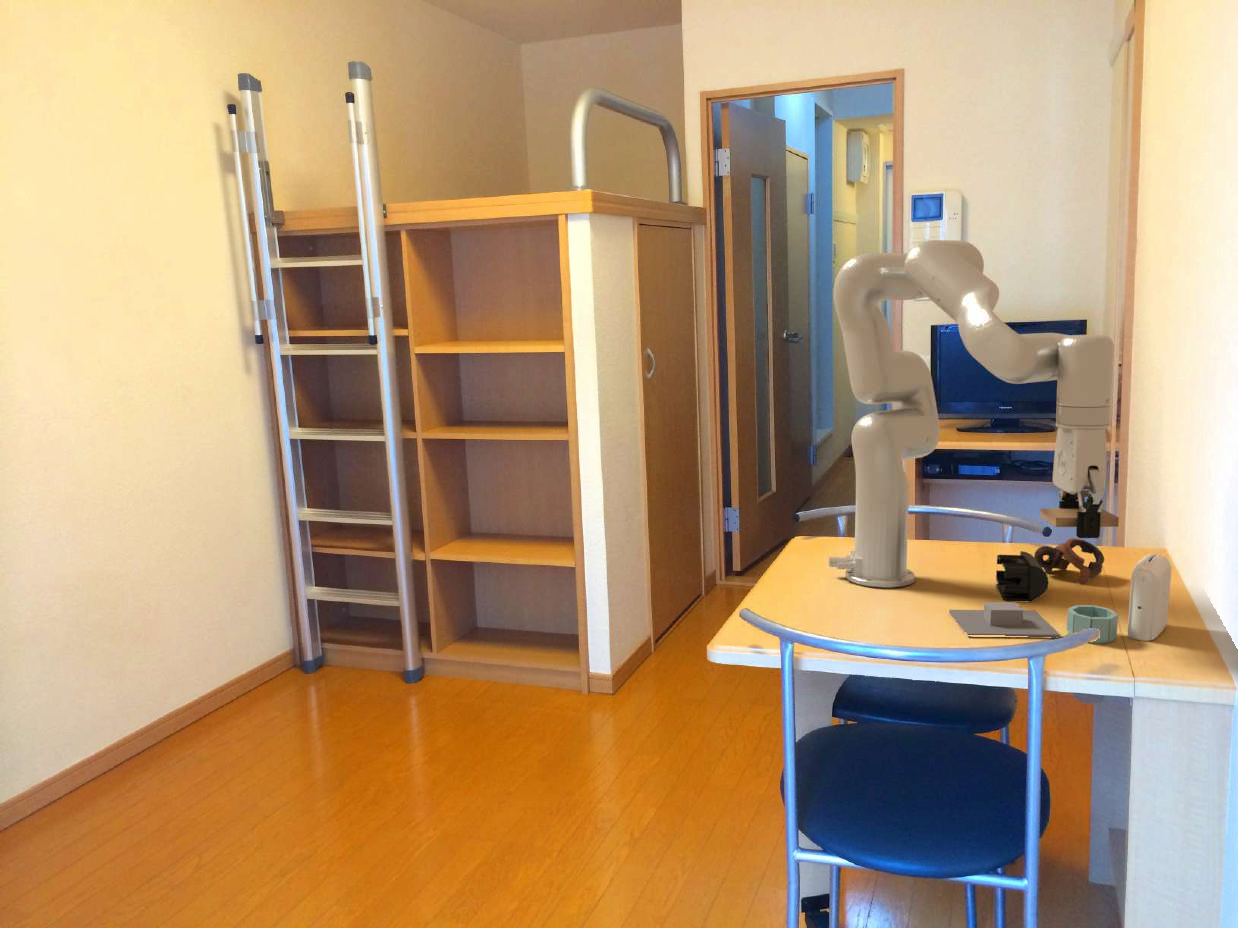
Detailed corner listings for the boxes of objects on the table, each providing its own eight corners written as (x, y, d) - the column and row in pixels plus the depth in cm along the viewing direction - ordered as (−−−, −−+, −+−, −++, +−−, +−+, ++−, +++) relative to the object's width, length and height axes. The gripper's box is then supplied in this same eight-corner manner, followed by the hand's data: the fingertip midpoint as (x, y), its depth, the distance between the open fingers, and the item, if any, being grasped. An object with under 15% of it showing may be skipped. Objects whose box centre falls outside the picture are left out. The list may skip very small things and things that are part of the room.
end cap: (1047, 604, 174) (1049, 566, 173) (1004, 602, 176) (1005, 564, 175) (1036, 587, 184) (1038, 551, 183) (995, 585, 186) (997, 549, 184)
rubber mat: (967, 637, 159) (968, 617, 158) (949, 612, 170) (949, 594, 170) (1060, 638, 157) (1061, 618, 157) (1035, 613, 169) (1036, 595, 169)
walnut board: (1055, 527, 153) (1056, 517, 152) (1040, 517, 160) (1040, 508, 160) (1118, 526, 152) (1118, 517, 152) (1100, 516, 159) (1100, 508, 159)
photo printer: (1154, 643, 155) (1160, 565, 152) (1123, 637, 157) (1129, 560, 155) (1170, 625, 162) (1176, 550, 160) (1140, 620, 165) (1146, 546, 163)
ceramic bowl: (1076, 643, 155) (1078, 618, 154) (1061, 629, 162) (1063, 605, 161) (1121, 644, 155) (1123, 618, 154) (1104, 629, 161) (1106, 605, 160)
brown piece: (1077, 570, 196) (1099, 539, 191) (1093, 604, 188) (1116, 573, 184) (1019, 557, 195) (1040, 525, 190) (1033, 591, 187) (1055, 558, 182)
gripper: (1039, 411, 162) (1035, 520, 165) (1077, 424, 145) (1072, 545, 148) (1088, 410, 162) (1083, 519, 164) (1132, 423, 144) (1126, 544, 147)
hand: (1078, 530), depth 156 cm, fingers closed on walnut board, 7 cm apart
